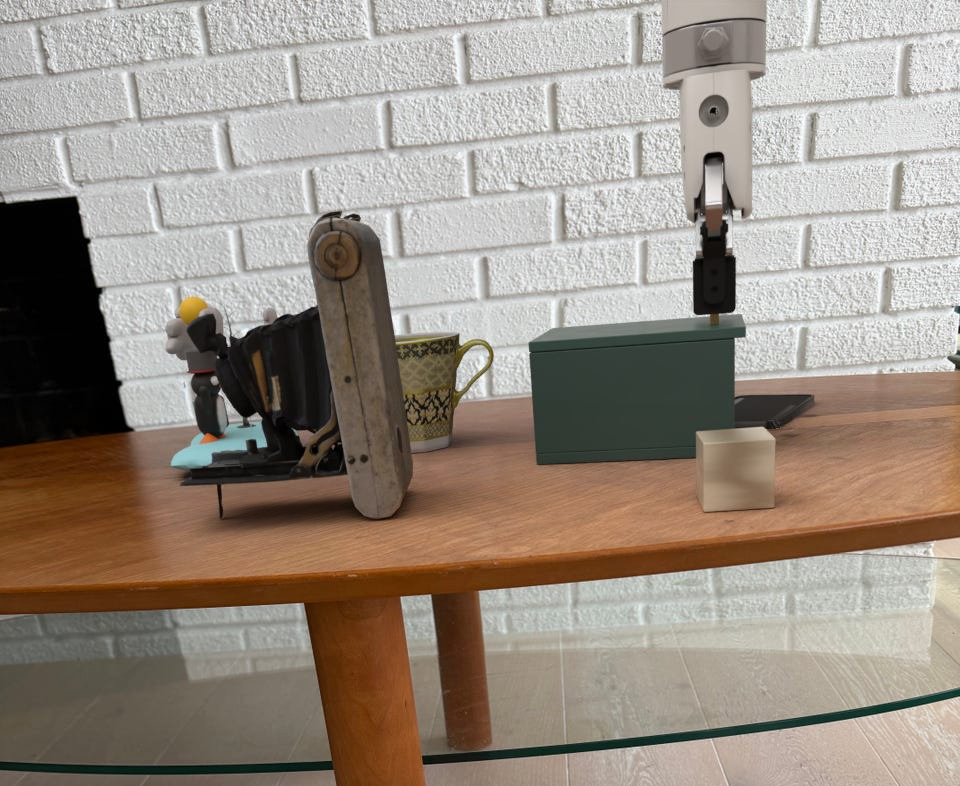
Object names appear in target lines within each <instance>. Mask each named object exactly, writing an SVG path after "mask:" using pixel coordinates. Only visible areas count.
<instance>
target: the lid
mask: <svg viewBox="0 0 960 786" xmlns="http://www.w3.org/2000/svg"><path fill="white" fill-rule="evenodd" d="M746 337H747V327H746V323H745V320H744V316H743V314H742V313H735V314H709V315H706V316H696V317H680V318H668V319H656V320H655V319H653V320H642V321H641V320H640V321H630V322H629V321H628V322H614V323H602V324H590V325H589V324H588V325H575V326H563V327H562V326H561V327H552V328H551V329H548V330H546V331H545V332H544V333H542V334H540V335H539V336H537V337H535V338H533V339H532V340H530V341H528V344H527V345H528V352H529V353H531V352H542V351H557V350H571V349H585V348H600V347H614V346H629V345H643V344H657V343H672V342H686V341H700V340H715V339H729V338H735V339H742V338H744V339H745V338H746Z"/></svg>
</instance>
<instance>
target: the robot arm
mask: <svg viewBox="0 0 960 786" xmlns="http://www.w3.org/2000/svg"><path fill="white" fill-rule="evenodd" d="M767 1H768V0H661V37H662V38H661V52H662V53H661V54H662V88H663V89H665V90H669V91H678V95H679V97H678V99H679V138H680V163H681V164H680V165H681V178H682V179H681V181H682V190H683V191H682V192H683V199H684V206H685V212H686V213H685V214H686V220H687V221H689V222H691V223H693V224H694V225H695V226H694V227H695V258H694V260H692V312H693V314H694V315H695V316H710V314H719V315H724V314H732V313H734V312H735V310H736V309H737V303H736V302H737V300H736V299H737V298H736V297H737V257H736V256H735V255H734V228H733V227H734V212H738V211H740V219H741V220H746V219H748V218H749V217H750V216H751V215H752V214H753V154H754V153H753V152H754V151H753V147H754V144H753V142H754V141H753V140H754V139H753V138H754V137H753V136H754V134H753V133H754V132H753V129H754V128H753V126H754V125H753V124H754V123H753V121H754V120H753V94H752V93H753V92H752V81H754V80H759V79H761V78H763V77H764V76H766V74H767V72H766V71H767V70H766V65H767V5H768V3H767Z"/></svg>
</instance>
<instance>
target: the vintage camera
mask: <svg viewBox="0 0 960 786" xmlns="http://www.w3.org/2000/svg"><path fill="white" fill-rule="evenodd" d="M342 215H343V211H342V210H337V211H330V212H327V213H323V214H322V215H321V216H320V217H319V218H318V219H317V220H316V222H315V223H314V224H313V226H312V227H310V230H309V233H308V239H307V244H306V248H307V249H306V250H307V258H308V259H307V260H308V265H309V269H310V275H311V278H312V283H313V287H314V293H315V300H316V305H315V306H311V307H309V308H307V309H304V310H303V311H301V312H299V313H295V314H291V313H285V314H282V315H280V316H279V317H278V316H277V319H276V320H275V321H274V322H273V323H272V324H269V325H264V324H261V325H260V324H259V325H257V326H255V327H253V328H251V329H249V330H248V331H246V333H245V335H244V336H242V337H239V338H238V337H235V336H234V337H233V335H232V336H231V337H230V336H229V337H230V338H229V337H228V340H229V343H230V342H231V345H230V346H228V341H227V336H225V334H224V335H223V334H221V333H218V334H216V319H215V316H214V313H212V314H205V315H203V316H200V317H198V318H196V319H194V320H193V321H191V323H190V324H189V326H188V327H187V333H188V335H189V337H190V339H191V340H192V342H193V343H194V345H195V346H196V348H197V349H198V350H199V352H200V353H204V352H207V351H214V354H215V356H217V357H218V358H217V359H216V360H215V361H214V363H213V364H214V371H215V374H216V377H217V379H218V381H219V384H220V386H221V391H222V393H223V394H224V395H225V397H226V399H227V400H228V402H229V403H230V405H231V407H232V408H233V409H234V410H235V411H236V412H237V413H238V414H239V416H241V417H242V418H243V417H244V418H247V419H249V417H250V416H251V417H252V416H254V415H256V414H257V415H258V416H260V417H261V421H260V422H261V425H262V430H263V432H264V435H265V438H266V443H267V447H261V448H257V442H256V439H249V440H246V447H247V450H234V451H230V450H227V451H221V452H213V453H212V463H211V464H209V465H207V466H203V468H193V469H190V471H189V472H190V477H188V478H187V479H185V480H183V481H182V482H180V483H179V487H194V486H195V487H196V486H197V487H198V486H216V493H217V499H218V513H219V520H221V519H222V518H223V517H224V507H223V503H222V502H223V493H222V491H223V490H222V485H239V484H240V485H241V484H258V483H272V482H273V483H274V482H275V483H276V482H287V481H297V480H310V479H323V478H326V479H327V478H333V477H340V476H341V477H343V476H347V479H348V484H349V490H350V498H351V499H352V502H353V504H354V507H355V509H357V510H358V511H359V513H361V514H362V516H363V517H366V518H367V517H368V518H371V519H374V520H380V519H385V518H389V517H392V516H393V515H394V514H395V512H396V511H397V510H398V509H399V508H400V507H401V505H402V502H403V500H404V498H405V496H406V493H407V491H408V488H409V486H410V485H411V481H412V479H413V475H414V461H413V456H412V454H413V453H411V446H410V439H409V431H408V424H407V417H406V410H405V404H404V397H403V390H402V384H401V377H400V370H399V363H398V356H397V348H396V341H395V335H396V334H395V329H394V323H393V317H392V311H391V303H390V296H389V289H388V283H387V277H386V276H387V275H386V268H385V263H384V256H383V251H382V247H381V246H382V244H381V239H380V238H379V236H378V235H377V234H376V232H375V231H374V230H373V228H372V227H371V226H370V225H369V224H366V223H364V222H361V220H362V217H361V215H360V214H358V213H350V214H348V215H345V216H343V217H342ZM255 413H256V414H255ZM293 429H294V430H296V431H297V432H300V431H302V432H303V431H308V432H310V433H312V435H311V437H310V438H309V440H308V442H307V443H306V446H303V444H302V442H301V438H300V435H297V436H296V434H295V432H294V430H293Z"/></svg>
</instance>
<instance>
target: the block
mask: <svg viewBox="0 0 960 786" xmlns="http://www.w3.org/2000/svg"><path fill="white" fill-rule="evenodd" d="M776 443H777V439H776V437H774V436H773V434H772V433H770V431H769V430H766V429H765V428H764V427H752V428H738V429H724V430H710V431H697V432H696V458H695V479H696V480H695V481H696V482H695V485H696V487H695V488H696V490H695V491H696V493H695V494H696V495H695V496H696V498H697V501H698V502H699V504H700V506H701V508H702V510H703V511H702V512H704V513H713V512H728V511H730V512H731V511H745V510H747V511H748V510H761V509H775V503H776V501H775V499H776V491H775V490H776V448H777V447H776Z"/></svg>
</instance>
